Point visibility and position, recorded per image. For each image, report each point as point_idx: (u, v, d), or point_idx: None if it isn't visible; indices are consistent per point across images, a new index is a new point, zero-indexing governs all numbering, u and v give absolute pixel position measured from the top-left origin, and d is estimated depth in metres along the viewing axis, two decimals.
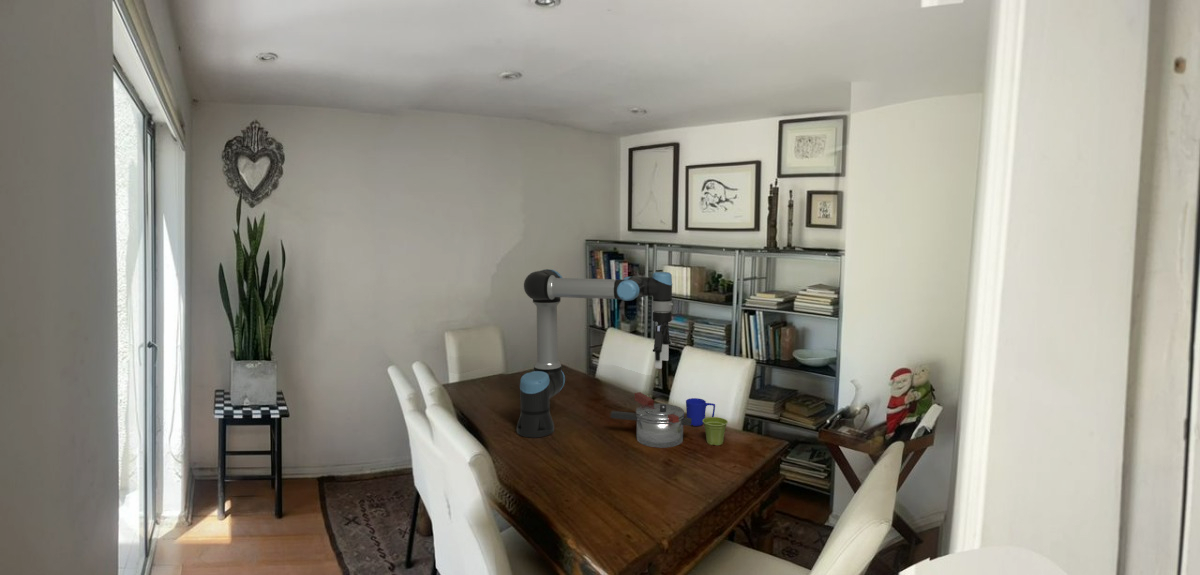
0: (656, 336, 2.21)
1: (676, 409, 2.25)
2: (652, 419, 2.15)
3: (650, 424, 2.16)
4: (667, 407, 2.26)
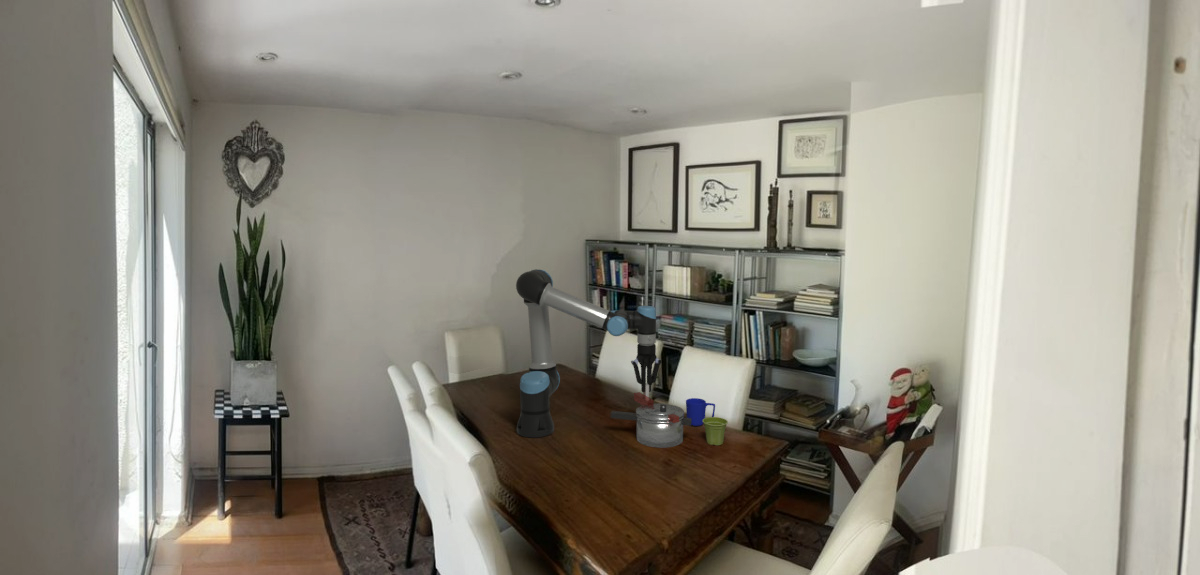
0: (634, 370, 2.36)
1: (676, 409, 2.25)
2: (652, 419, 2.15)
3: (650, 424, 2.16)
4: (667, 407, 2.26)
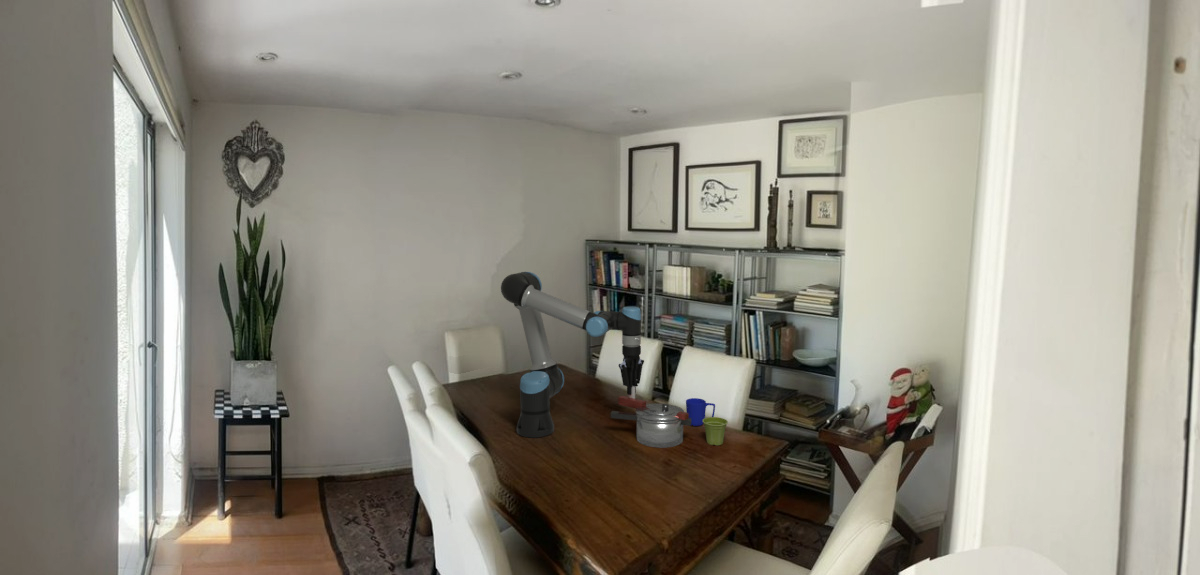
0: (622, 373, 2.31)
1: (671, 407, 2.28)
2: (664, 420, 2.15)
3: (650, 424, 2.16)
4: None
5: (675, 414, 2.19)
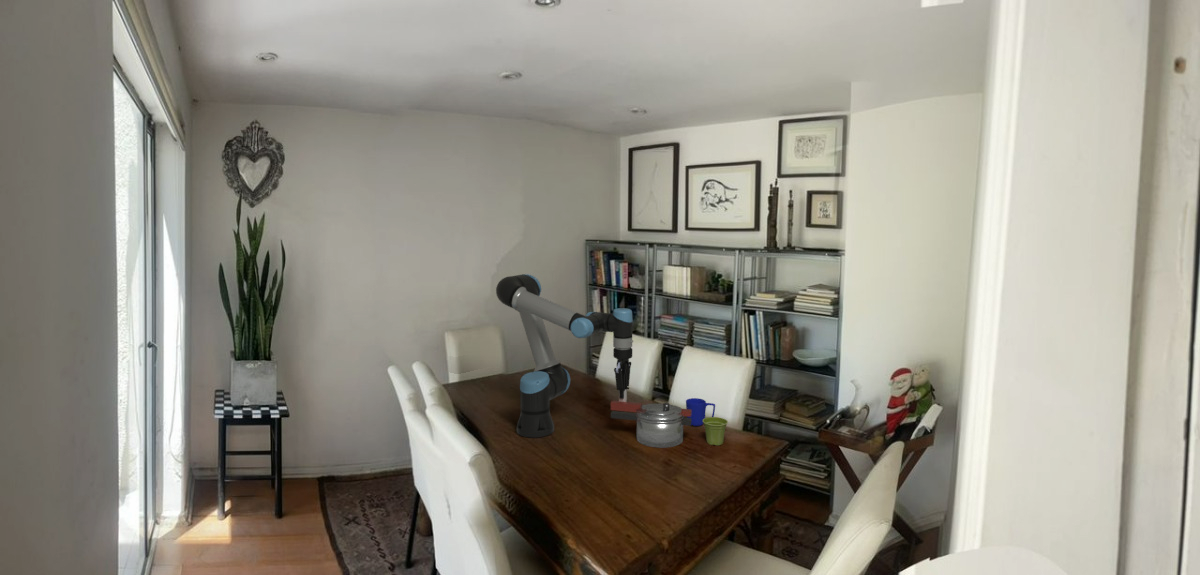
0: (616, 377, 2.25)
1: None
2: (673, 419, 2.16)
3: (650, 424, 2.16)
4: (659, 406, 2.28)
5: (678, 412, 2.22)
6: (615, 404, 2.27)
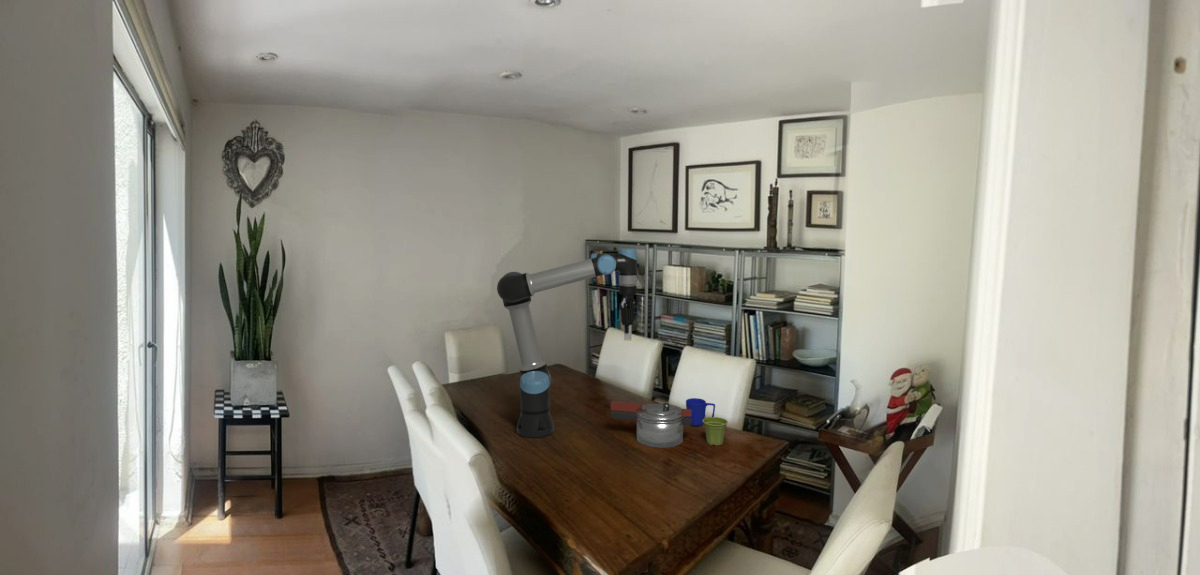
0: (622, 312, 2.40)
1: None
2: (673, 419, 2.16)
3: (650, 424, 2.16)
4: (659, 406, 2.28)
5: (678, 412, 2.22)
6: (615, 404, 2.27)
